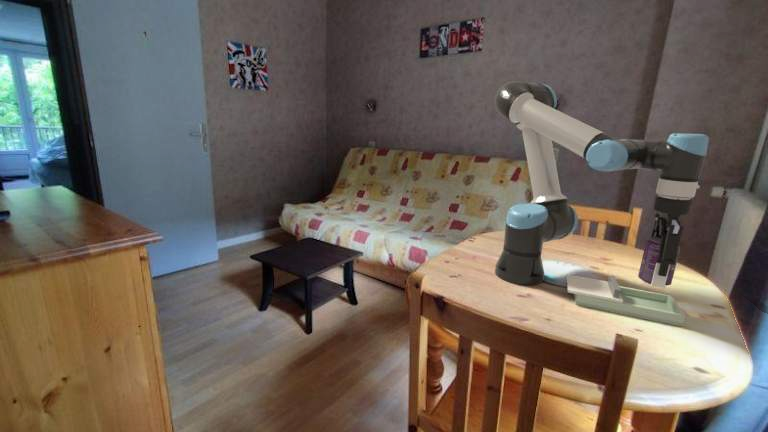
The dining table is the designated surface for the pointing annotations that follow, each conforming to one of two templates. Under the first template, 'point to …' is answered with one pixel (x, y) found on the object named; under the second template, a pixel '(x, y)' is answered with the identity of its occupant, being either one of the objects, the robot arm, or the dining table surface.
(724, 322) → the dining table surface
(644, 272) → the beverage can
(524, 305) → the dining table surface
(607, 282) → the lid
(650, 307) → the serving tray
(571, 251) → the dining table surface
